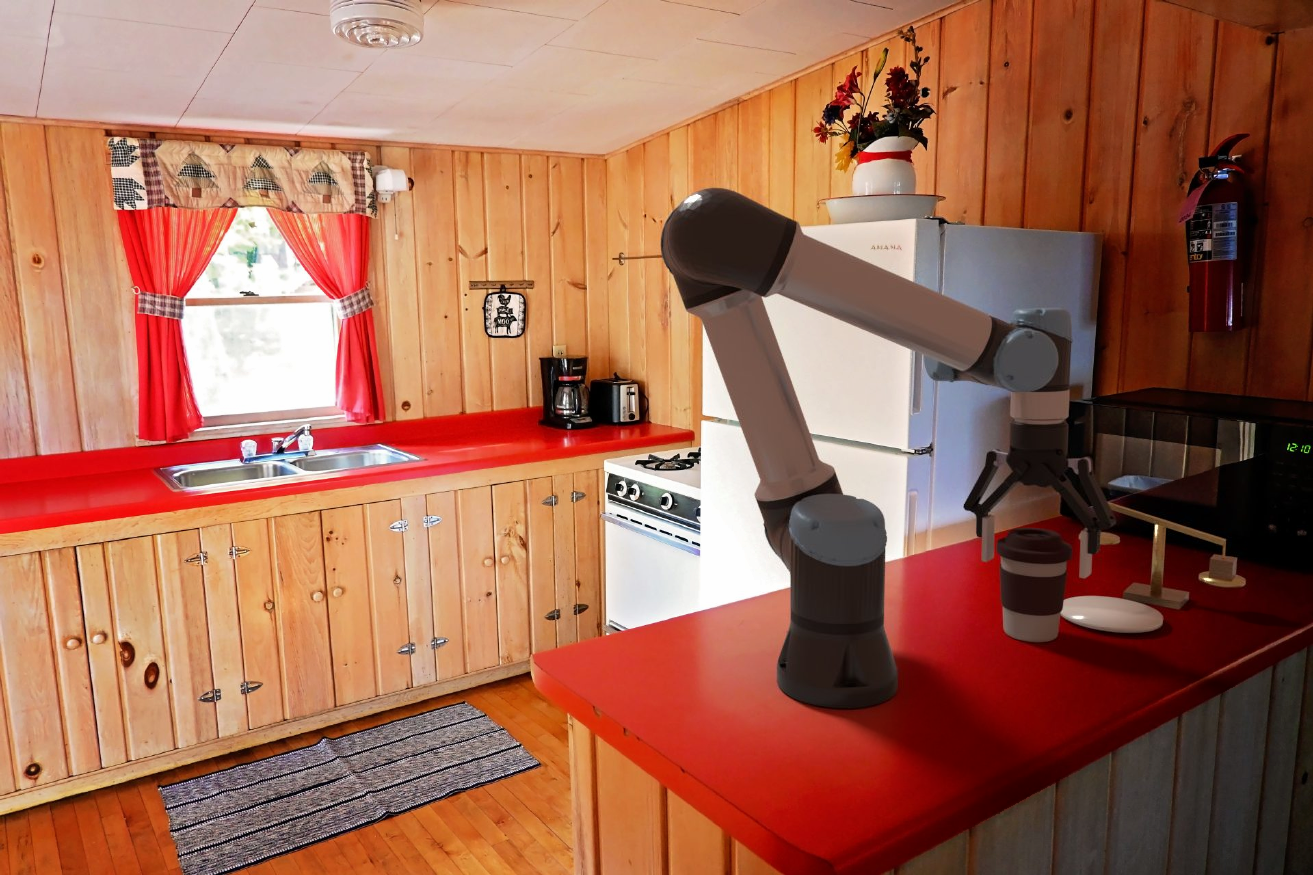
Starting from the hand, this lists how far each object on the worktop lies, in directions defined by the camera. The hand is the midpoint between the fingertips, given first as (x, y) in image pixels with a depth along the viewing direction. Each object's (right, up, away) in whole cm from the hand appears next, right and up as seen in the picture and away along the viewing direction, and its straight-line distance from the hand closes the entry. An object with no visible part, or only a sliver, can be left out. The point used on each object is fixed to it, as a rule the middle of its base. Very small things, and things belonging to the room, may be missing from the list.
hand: (1034, 567), depth 130 cm
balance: (+25, -7, +15) cm, 30 cm away
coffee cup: (0, -10, +1) cm, 10 cm away
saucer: (+14, -9, +6) cm, 18 cm away
